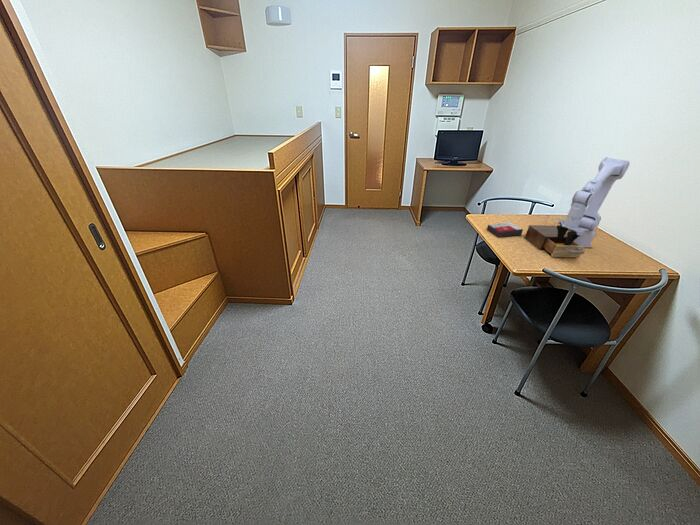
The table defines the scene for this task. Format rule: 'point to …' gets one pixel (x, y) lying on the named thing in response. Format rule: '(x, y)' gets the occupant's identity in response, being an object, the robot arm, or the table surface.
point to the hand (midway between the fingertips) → (563, 242)
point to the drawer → (562, 248)
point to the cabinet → (541, 234)
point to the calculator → (504, 229)
